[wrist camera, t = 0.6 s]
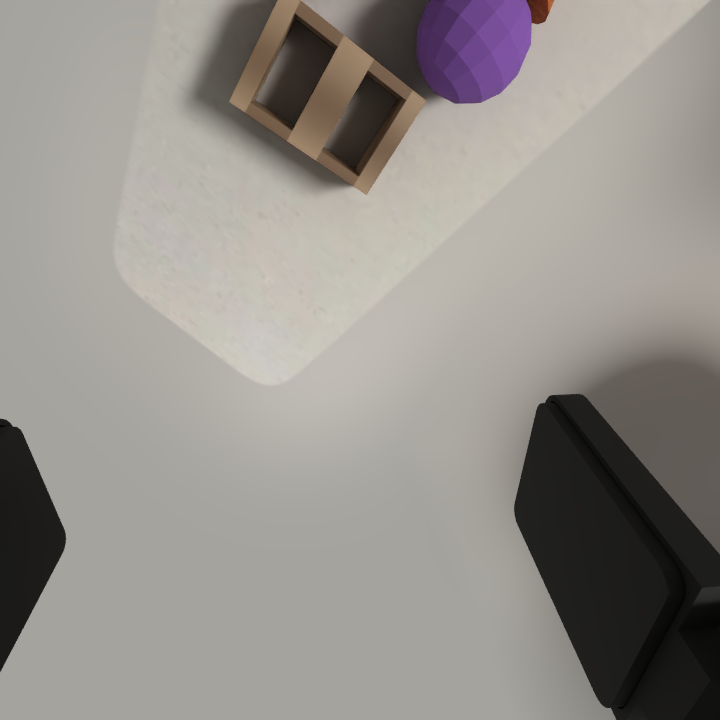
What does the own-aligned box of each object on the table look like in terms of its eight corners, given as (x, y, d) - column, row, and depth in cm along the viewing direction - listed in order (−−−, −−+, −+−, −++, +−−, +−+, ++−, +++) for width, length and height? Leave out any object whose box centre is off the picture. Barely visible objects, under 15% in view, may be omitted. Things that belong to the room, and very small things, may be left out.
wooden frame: (286, -4, 27) (283, -13, 24) (416, 99, 30) (426, 101, 27) (236, 99, 29) (228, 101, 26) (361, 185, 32) (366, 194, 29)
